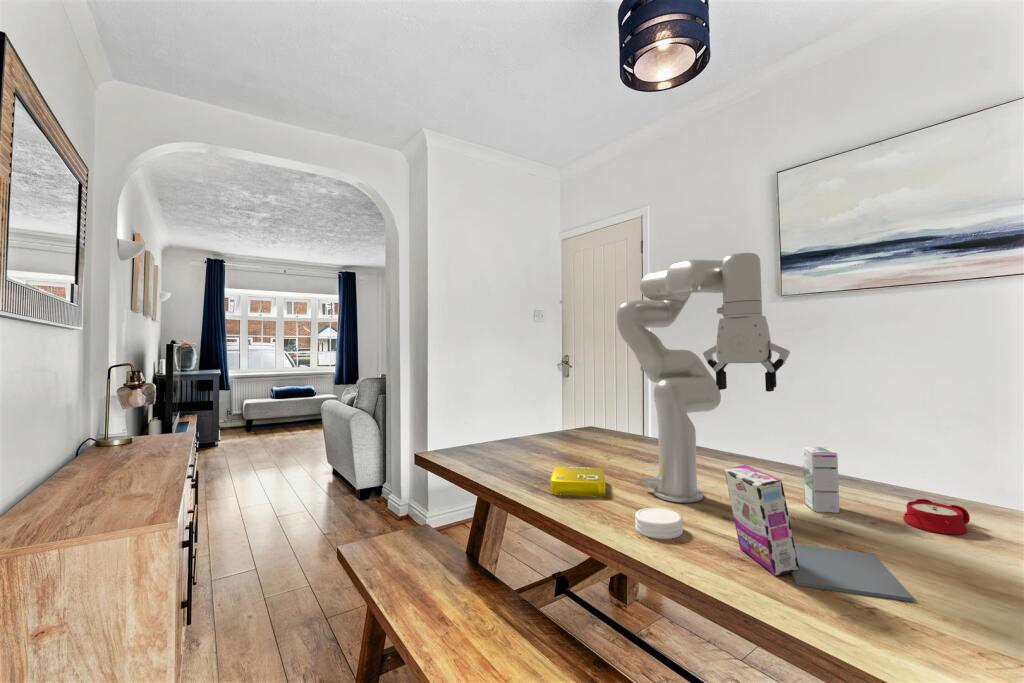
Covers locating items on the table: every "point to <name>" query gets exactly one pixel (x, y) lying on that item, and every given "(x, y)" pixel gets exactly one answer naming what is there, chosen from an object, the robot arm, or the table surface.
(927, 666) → the table surface
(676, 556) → the table surface
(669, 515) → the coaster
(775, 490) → the candy bar box
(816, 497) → the syrup box
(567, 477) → the element tile
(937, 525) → the alarm clock
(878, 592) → the slate mat
